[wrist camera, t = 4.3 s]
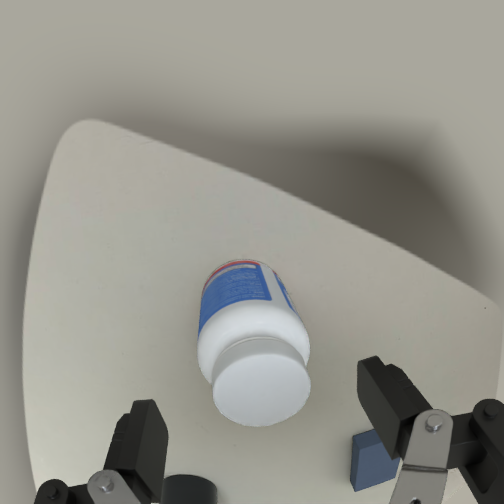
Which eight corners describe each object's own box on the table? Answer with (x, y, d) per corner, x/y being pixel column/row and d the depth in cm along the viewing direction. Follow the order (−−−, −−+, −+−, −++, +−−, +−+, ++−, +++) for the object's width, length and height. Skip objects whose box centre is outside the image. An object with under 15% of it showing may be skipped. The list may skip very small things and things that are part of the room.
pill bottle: (188, 312, 21) (170, 414, 12) (225, 243, 20) (227, 313, 11) (260, 343, 22) (283, 447, 13) (299, 279, 21) (352, 364, 12)
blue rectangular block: (353, 435, 26) (359, 449, 24) (398, 420, 26) (406, 432, 25) (349, 479, 29) (354, 492, 27) (389, 466, 29) (395, 478, 27)
